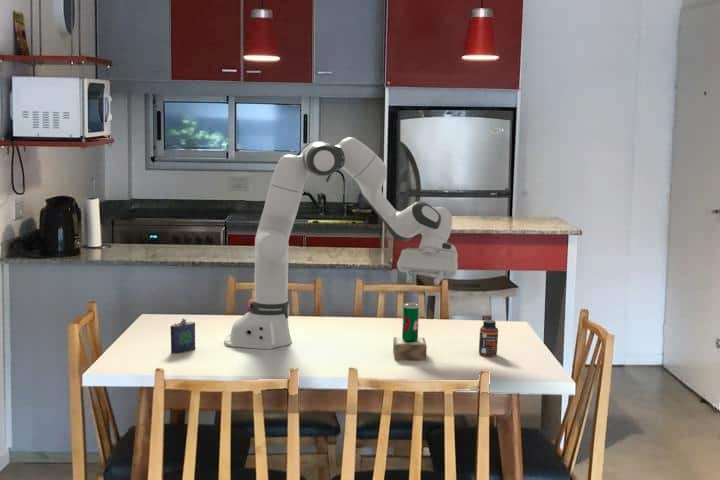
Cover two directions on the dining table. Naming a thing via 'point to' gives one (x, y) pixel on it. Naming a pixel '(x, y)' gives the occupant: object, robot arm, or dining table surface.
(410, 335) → the soda can
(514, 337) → the dining table surface
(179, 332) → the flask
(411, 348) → the base block
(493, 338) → the supplement bottle
